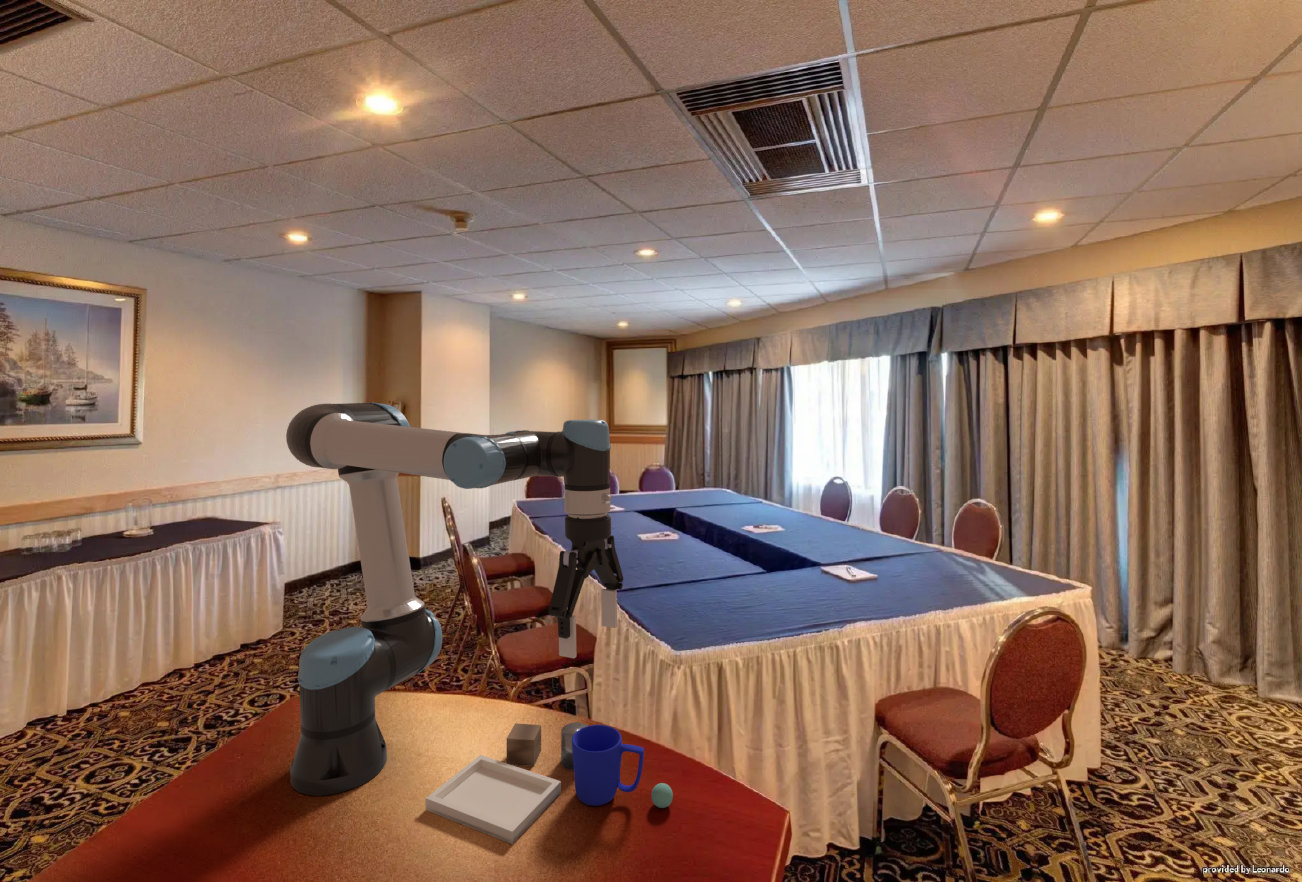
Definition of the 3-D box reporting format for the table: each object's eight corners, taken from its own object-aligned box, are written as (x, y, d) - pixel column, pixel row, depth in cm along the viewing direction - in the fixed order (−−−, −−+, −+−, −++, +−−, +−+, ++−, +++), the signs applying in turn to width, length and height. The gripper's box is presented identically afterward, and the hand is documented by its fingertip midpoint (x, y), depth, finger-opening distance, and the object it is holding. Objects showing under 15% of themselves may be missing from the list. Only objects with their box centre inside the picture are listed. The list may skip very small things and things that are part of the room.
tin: (555, 765, 109) (555, 733, 109) (570, 750, 114) (570, 719, 113) (579, 772, 107) (579, 740, 107) (593, 757, 112) (594, 726, 111)
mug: (637, 819, 96) (638, 758, 95) (564, 807, 98) (564, 748, 97) (648, 786, 104) (649, 730, 103) (580, 776, 106) (580, 721, 105)
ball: (647, 808, 98) (648, 788, 98) (656, 796, 101) (656, 776, 101) (667, 815, 97) (668, 794, 97) (675, 802, 100) (676, 781, 100)
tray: (425, 809, 97) (425, 798, 97) (480, 765, 109) (480, 754, 109) (512, 844, 90) (512, 831, 90) (560, 792, 102) (560, 781, 102)
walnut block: (506, 765, 109) (506, 738, 109) (515, 748, 114) (515, 723, 114) (533, 766, 109) (534, 740, 109) (541, 750, 114) (541, 724, 114)
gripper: (566, 530, 87) (568, 675, 88) (641, 503, 109) (642, 618, 111) (522, 526, 90) (526, 666, 91) (604, 500, 113) (606, 612, 114)
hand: (589, 640), depth 101 cm, fingers open, 13 cm apart
